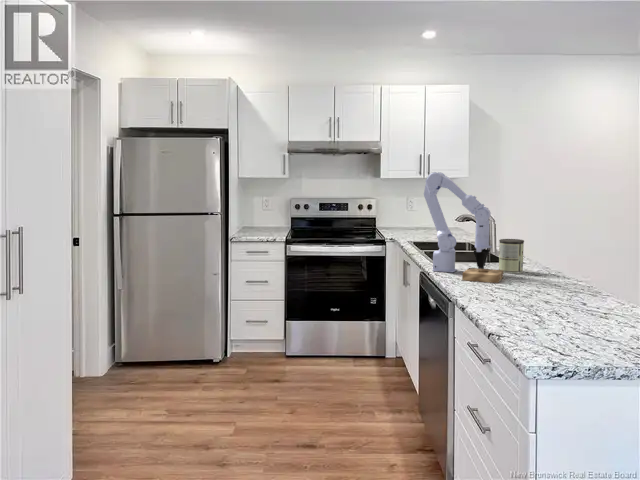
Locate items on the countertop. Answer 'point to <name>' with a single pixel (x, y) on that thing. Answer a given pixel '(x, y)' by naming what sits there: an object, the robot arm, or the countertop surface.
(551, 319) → the countertop surface
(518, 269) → the coffee can
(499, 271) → the tan slotted block
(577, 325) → the countertop surface
